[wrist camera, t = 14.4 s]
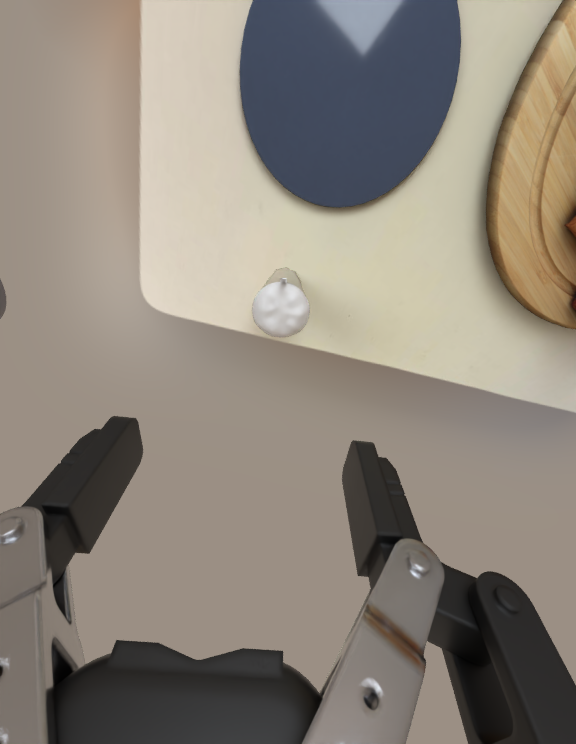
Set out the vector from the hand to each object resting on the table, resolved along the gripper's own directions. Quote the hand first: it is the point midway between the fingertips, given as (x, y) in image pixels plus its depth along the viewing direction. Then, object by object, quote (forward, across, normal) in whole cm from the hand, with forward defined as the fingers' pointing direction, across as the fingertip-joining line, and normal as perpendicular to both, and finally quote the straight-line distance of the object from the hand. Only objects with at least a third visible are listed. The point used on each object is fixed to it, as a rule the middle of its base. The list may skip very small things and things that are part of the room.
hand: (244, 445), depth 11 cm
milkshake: (+23, -1, -1) cm, 23 cm away
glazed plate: (+22, -4, -16) cm, 28 cm away
